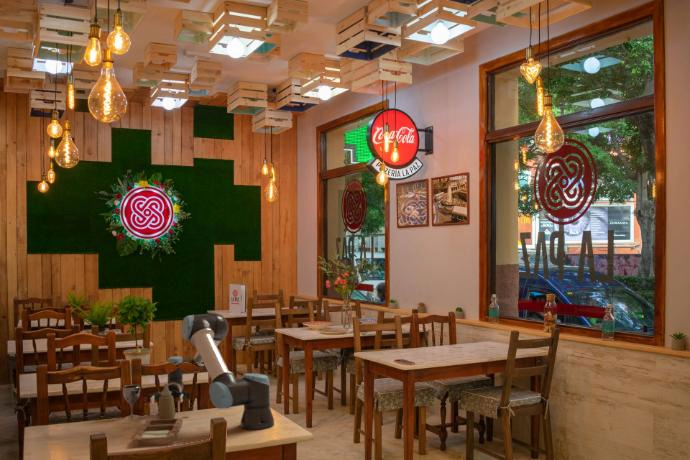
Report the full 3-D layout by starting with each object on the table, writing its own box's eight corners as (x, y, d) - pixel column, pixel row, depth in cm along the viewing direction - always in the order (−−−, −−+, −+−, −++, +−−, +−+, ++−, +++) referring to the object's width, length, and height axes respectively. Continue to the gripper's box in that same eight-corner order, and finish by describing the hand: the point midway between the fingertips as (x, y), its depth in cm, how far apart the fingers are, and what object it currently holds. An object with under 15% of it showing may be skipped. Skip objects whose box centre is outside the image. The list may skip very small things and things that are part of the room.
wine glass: (133, 414, 324) (133, 384, 325) (144, 416, 320) (143, 385, 320) (120, 418, 318) (119, 387, 318) (130, 420, 313) (129, 388, 314)
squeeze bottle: (170, 424, 302) (169, 385, 302) (154, 424, 303) (153, 385, 304) (178, 420, 310) (177, 382, 310) (162, 419, 311) (162, 382, 312)
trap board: (146, 426, 300) (146, 419, 300) (182, 424, 302) (182, 417, 302) (132, 447, 268) (132, 439, 268) (172, 444, 270) (172, 436, 270)
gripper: (197, 397, 331) (193, 406, 310) (147, 400, 328) (139, 410, 307) (197, 382, 332) (192, 391, 311) (147, 385, 329) (138, 394, 308)
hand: (166, 400), depth 309 cm, fingers open, 13 cm apart
